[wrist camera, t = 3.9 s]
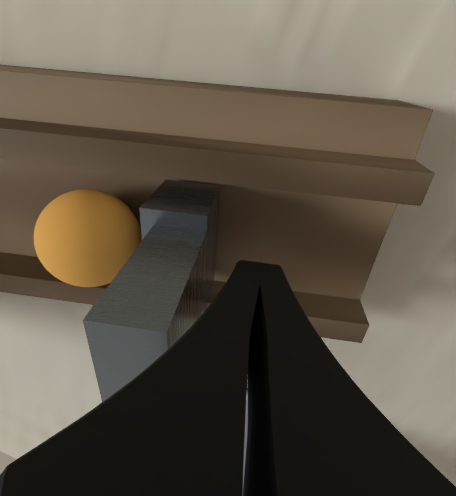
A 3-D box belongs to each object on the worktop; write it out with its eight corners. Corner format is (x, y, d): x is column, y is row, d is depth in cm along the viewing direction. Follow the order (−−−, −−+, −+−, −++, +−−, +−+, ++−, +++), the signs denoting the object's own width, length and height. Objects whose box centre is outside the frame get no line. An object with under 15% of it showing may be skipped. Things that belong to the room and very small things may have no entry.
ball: (95, 322, 10) (25, 286, 11) (162, 269, 13) (99, 245, 14) (75, 226, 8) (-6, 196, 9) (158, 189, 11) (87, 169, 12)
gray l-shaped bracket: (214, 275, 13) (171, 434, 7) (168, 269, 13) (92, 421, 8) (220, 185, 11) (165, 312, 5) (165, 179, 11) (56, 296, 5)
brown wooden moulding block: (333, 298, 17) (351, 366, 13) (26, 257, 18) (-39, 309, 14) (398, 100, 12) (459, 116, 8) (-37, 61, 13) (-167, 59, 9)
